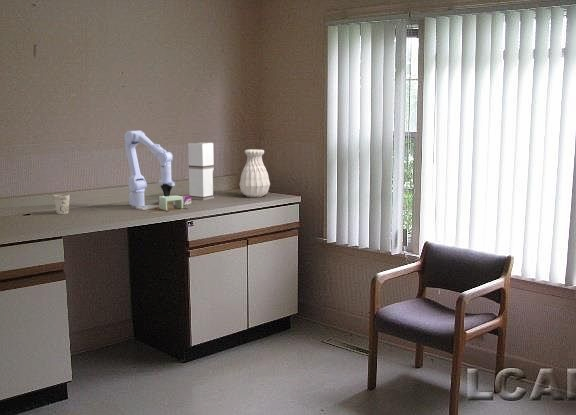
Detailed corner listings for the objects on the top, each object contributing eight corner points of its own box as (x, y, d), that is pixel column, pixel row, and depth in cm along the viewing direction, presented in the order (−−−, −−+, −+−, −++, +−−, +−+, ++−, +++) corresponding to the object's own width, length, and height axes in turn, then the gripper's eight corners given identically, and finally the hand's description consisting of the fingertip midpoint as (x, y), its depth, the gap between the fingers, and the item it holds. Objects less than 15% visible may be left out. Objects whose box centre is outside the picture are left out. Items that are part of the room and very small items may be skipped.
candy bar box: (191, 204, 393) (165, 203, 396) (191, 196, 392) (166, 195, 396) (184, 205, 382) (158, 204, 385) (184, 197, 381) (158, 196, 385)
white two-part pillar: (214, 198, 417) (213, 142, 412) (203, 200, 408) (202, 143, 403) (200, 196, 423) (199, 142, 418) (189, 198, 415) (188, 143, 409)
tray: (136, 208, 370) (136, 206, 370) (148, 207, 375) (148, 205, 375) (143, 210, 364) (143, 208, 364) (155, 208, 369) (155, 206, 369)
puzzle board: (133, 209, 371) (133, 207, 370) (167, 205, 385) (166, 203, 385) (154, 215, 354) (153, 212, 353) (188, 210, 368) (188, 208, 368)
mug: (55, 214, 354) (54, 196, 352) (52, 211, 365) (51, 193, 363) (71, 213, 358) (70, 195, 356) (67, 210, 369) (67, 192, 367)
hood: (159, 208, 367) (159, 197, 366) (176, 206, 375) (176, 195, 374) (166, 210, 362) (165, 198, 361) (183, 208, 369) (182, 196, 368)
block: (162, 208, 371) (162, 199, 371) (169, 207, 374) (168, 198, 373) (166, 209, 368) (166, 200, 367) (173, 208, 371) (173, 199, 370)
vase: (235, 198, 418) (234, 150, 413) (244, 193, 437) (243, 148, 432) (265, 199, 413) (265, 151, 409) (273, 194, 433) (273, 149, 428)
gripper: (179, 174, 366) (179, 198, 368) (165, 172, 377) (166, 195, 379) (168, 175, 361) (169, 199, 363) (154, 173, 372) (155, 196, 374)
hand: (166, 197), depth 371 cm, fingers closed
